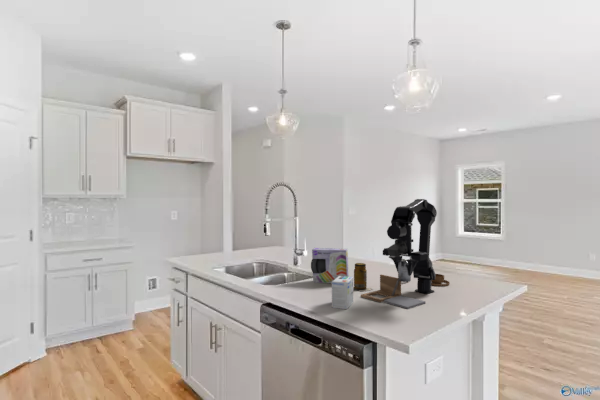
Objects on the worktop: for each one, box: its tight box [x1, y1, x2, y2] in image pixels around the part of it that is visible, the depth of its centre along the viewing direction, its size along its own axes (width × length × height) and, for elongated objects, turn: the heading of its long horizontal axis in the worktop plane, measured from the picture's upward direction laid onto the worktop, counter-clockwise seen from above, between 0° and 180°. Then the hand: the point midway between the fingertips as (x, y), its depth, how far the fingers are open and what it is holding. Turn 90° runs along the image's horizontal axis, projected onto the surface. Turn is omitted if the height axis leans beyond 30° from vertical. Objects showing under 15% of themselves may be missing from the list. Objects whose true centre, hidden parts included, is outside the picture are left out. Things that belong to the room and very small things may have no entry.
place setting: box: [406, 273, 450, 287], centre depth 187 cm, size 18×20×6 cm
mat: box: [383, 294, 426, 310], centre depth 152 cm, size 12×12×1 cm
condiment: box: [353, 262, 373, 292], centre depth 175 cm, size 7×8×12 cm
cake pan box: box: [310, 247, 350, 284], centre depth 188 cm, size 19×5×18 cm, turn 71°
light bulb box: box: [331, 276, 354, 310], centre depth 149 cm, size 11×7×11 cm, turn 159°
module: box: [397, 258, 412, 283], centre depth 152 cm, size 5×5×9 cm
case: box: [360, 274, 402, 303], centre depth 161 cm, size 14×11×8 cm
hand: (404, 274), depth 152 cm, fingers closed on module, 5 cm apart
